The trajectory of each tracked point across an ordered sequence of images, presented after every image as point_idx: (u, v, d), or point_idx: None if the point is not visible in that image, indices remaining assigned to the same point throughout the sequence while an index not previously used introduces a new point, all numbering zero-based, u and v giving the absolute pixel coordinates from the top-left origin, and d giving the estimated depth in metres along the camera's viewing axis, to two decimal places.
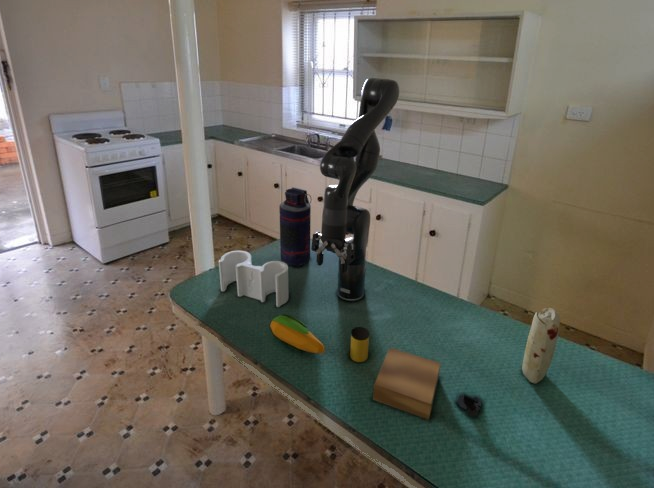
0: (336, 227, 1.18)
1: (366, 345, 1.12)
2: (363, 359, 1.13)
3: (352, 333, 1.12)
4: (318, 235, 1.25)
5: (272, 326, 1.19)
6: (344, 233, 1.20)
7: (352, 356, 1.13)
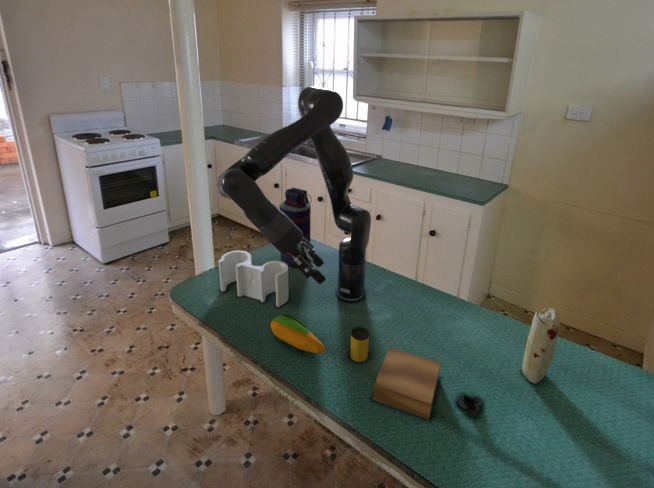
0: (273, 243, 1.00)
1: (366, 345, 1.12)
2: (363, 359, 1.13)
3: (352, 333, 1.12)
4: None
5: (272, 326, 1.19)
6: (288, 246, 0.99)
7: (352, 356, 1.13)
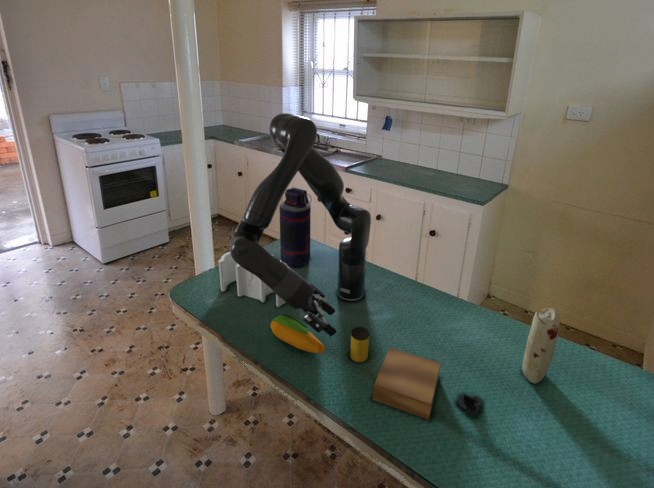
0: (284, 300, 1.05)
1: (366, 345, 1.12)
2: (363, 359, 1.13)
3: (352, 333, 1.12)
4: None
5: (272, 326, 1.19)
6: (299, 303, 1.03)
7: (352, 356, 1.13)
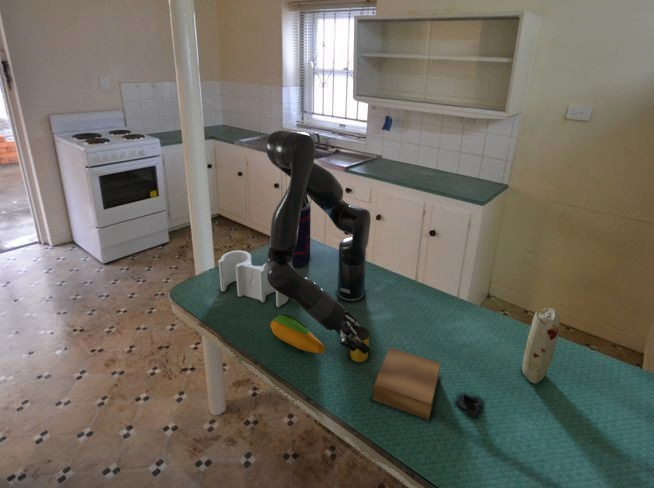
0: None
1: None
2: (363, 359, 1.13)
3: (352, 333, 1.12)
4: None
5: (272, 326, 1.19)
6: (333, 324, 1.06)
7: (352, 356, 1.13)
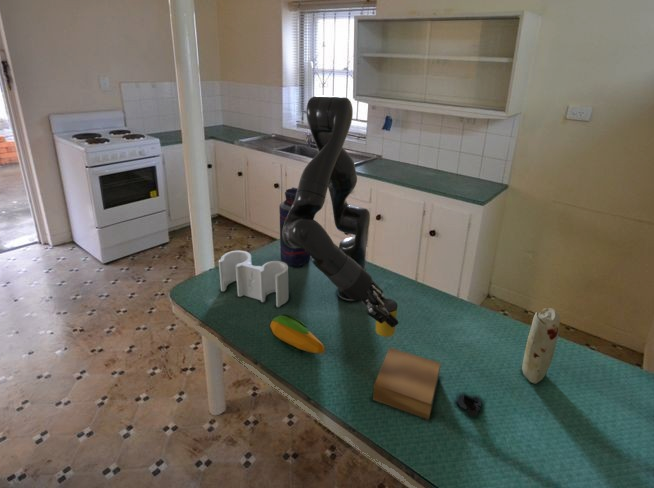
0: (342, 290, 0.97)
1: None
2: (390, 334, 1.02)
3: (378, 305, 1.01)
4: None
5: (272, 326, 1.19)
6: (359, 293, 0.96)
7: (378, 330, 1.03)
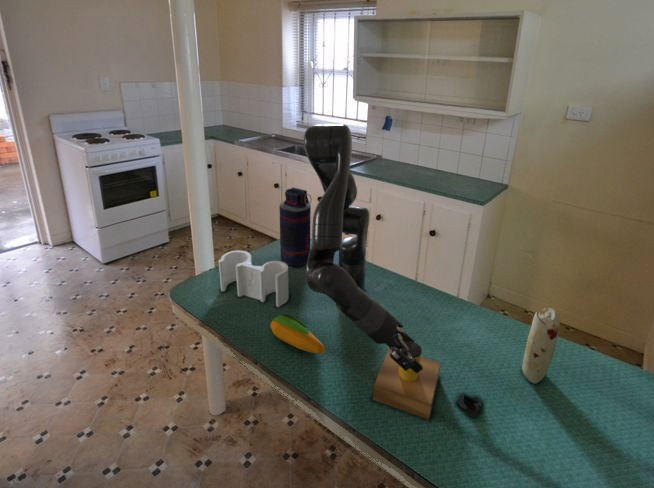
0: (367, 335, 0.95)
1: None
2: (414, 378, 1.01)
3: (402, 349, 1.00)
4: None
5: (272, 326, 1.19)
6: (384, 338, 0.94)
7: (402, 374, 1.01)
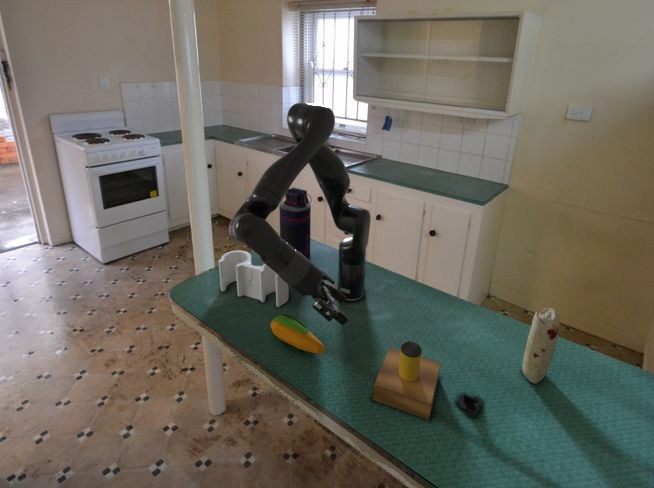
0: (291, 286, 0.95)
1: (418, 362, 0.99)
2: (414, 378, 1.01)
3: (402, 349, 1.00)
4: None
5: (272, 326, 1.19)
6: (308, 289, 0.94)
7: (402, 374, 1.01)
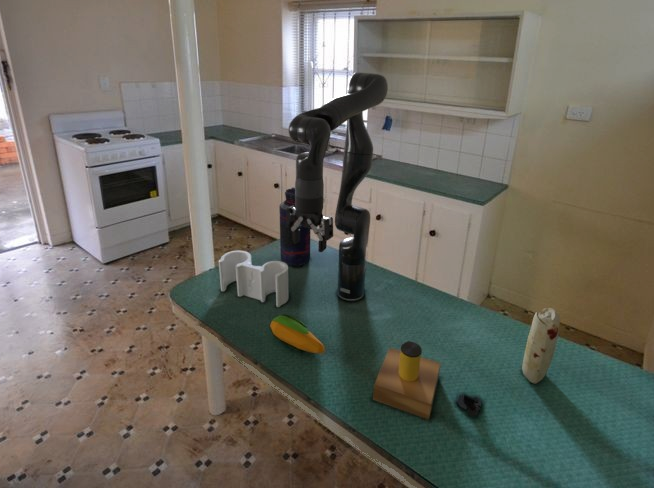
0: (310, 200, 1.03)
1: (418, 362, 0.99)
2: (414, 378, 1.01)
3: (402, 349, 1.00)
4: (292, 210, 1.11)
5: (272, 326, 1.19)
6: (320, 206, 1.06)
7: (402, 374, 1.01)
